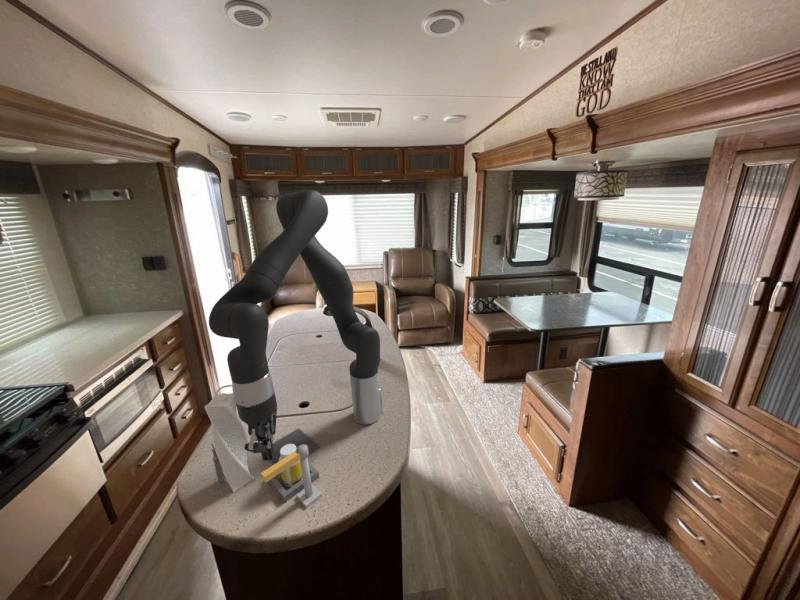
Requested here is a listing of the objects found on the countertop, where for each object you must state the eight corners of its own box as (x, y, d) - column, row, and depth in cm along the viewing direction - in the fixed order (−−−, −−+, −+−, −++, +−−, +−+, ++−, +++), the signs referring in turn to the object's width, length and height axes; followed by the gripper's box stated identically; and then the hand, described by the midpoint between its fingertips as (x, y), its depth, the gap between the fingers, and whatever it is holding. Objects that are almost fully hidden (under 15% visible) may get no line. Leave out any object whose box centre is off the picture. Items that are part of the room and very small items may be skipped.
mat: (298, 429, 101) (298, 428, 101) (319, 447, 93) (319, 446, 93) (262, 450, 93) (262, 449, 93) (282, 472, 85) (282, 471, 85)
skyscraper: (248, 463, 89) (229, 377, 80) (262, 478, 84) (243, 388, 75) (217, 482, 83) (192, 392, 74) (229, 500, 78) (204, 406, 69)
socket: (299, 458, 90) (294, 421, 86) (330, 488, 80) (326, 449, 76) (266, 480, 83) (259, 441, 79) (296, 516, 73) (288, 474, 69)
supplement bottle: (305, 469, 86) (301, 441, 83) (300, 487, 81) (295, 457, 78) (286, 470, 86) (280, 442, 83) (279, 488, 80) (273, 458, 77)
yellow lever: (304, 449, 76) (304, 442, 75) (310, 454, 74) (309, 448, 73) (261, 478, 68) (259, 471, 67) (266, 484, 66) (265, 477, 66)
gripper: (249, 377, 71) (262, 438, 76) (220, 415, 58) (239, 485, 64) (282, 375, 71) (293, 436, 77) (261, 413, 59) (276, 482, 64)
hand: (269, 458), depth 70 cm, fingers closed
